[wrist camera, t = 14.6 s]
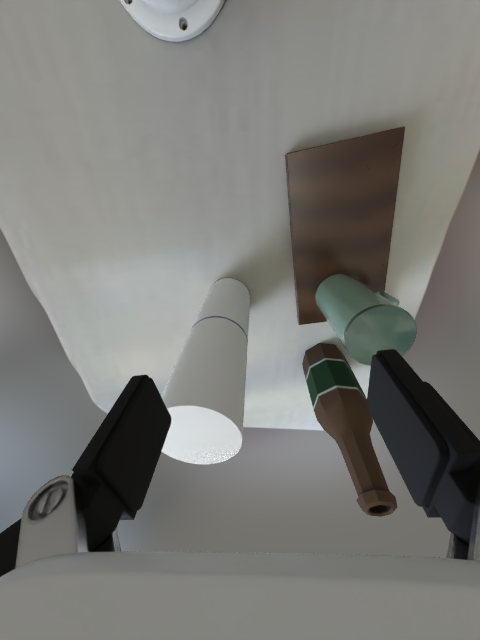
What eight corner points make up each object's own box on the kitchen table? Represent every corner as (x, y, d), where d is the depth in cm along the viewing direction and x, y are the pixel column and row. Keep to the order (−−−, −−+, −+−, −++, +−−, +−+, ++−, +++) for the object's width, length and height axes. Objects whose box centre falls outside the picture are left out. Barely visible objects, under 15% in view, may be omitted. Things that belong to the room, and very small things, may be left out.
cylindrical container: (252, 281, 37) (247, 412, 16) (247, 319, 41) (237, 469, 19) (208, 275, 37) (143, 399, 16) (206, 314, 41) (151, 458, 19)
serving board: (285, 155, 29) (286, 153, 28) (398, 128, 27) (405, 126, 26) (297, 320, 41) (299, 324, 39) (377, 310, 39) (381, 314, 37)
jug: (314, 277, 35) (344, 311, 22) (378, 267, 34) (451, 297, 21) (316, 317, 37) (345, 368, 25) (376, 310, 36) (440, 359, 23)
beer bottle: (352, 352, 43) (441, 506, 22) (326, 379, 47) (382, 533, 26) (317, 335, 42) (377, 483, 21) (293, 364, 45) (324, 514, 25)
